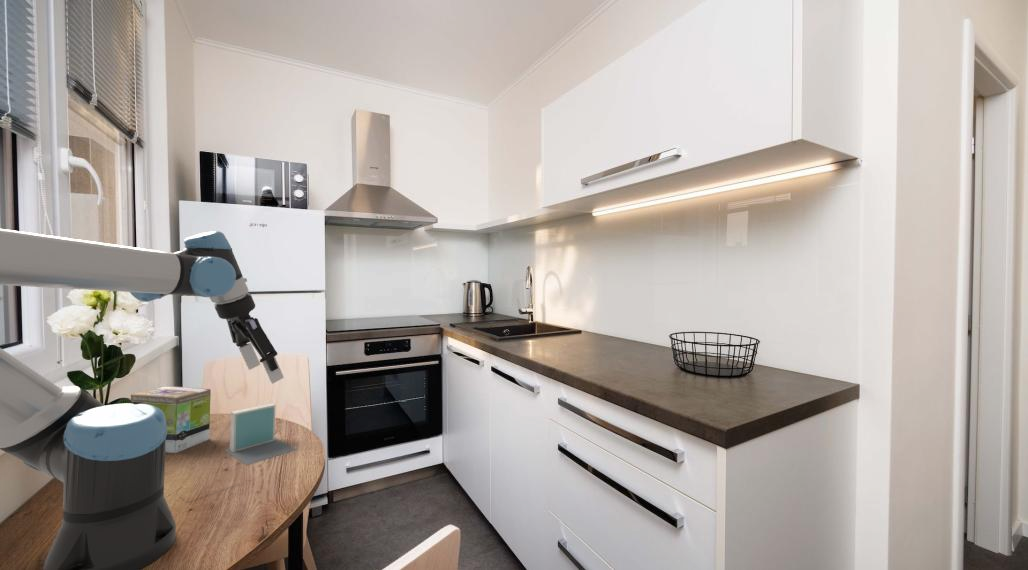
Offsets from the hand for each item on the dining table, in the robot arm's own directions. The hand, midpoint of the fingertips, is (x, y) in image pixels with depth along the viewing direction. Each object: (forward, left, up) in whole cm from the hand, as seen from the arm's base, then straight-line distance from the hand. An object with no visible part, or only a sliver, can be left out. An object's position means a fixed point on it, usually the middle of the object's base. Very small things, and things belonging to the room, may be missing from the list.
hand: (265, 373), depth 101 cm
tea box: (-11, +28, -22) cm, 38 cm away
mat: (+2, +5, -22) cm, 23 cm away
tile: (+2, +10, -21) cm, 24 cm away
